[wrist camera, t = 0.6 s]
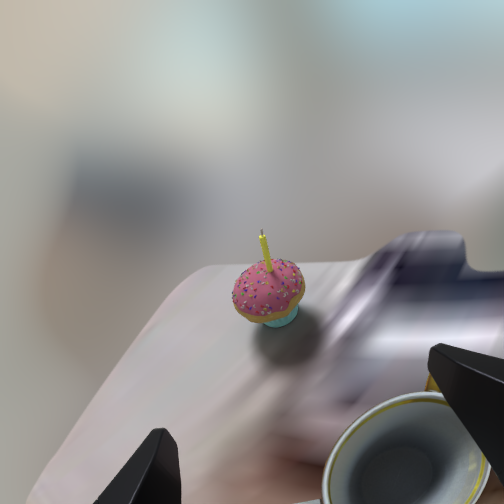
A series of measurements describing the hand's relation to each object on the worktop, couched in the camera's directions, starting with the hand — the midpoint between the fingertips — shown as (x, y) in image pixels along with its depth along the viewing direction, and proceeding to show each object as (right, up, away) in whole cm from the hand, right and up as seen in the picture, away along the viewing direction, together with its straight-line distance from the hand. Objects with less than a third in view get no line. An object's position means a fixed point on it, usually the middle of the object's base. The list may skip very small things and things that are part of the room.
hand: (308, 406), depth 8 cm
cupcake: (+2, -3, +28) cm, 28 cm away
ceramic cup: (+11, -13, +9) cm, 19 cm away
